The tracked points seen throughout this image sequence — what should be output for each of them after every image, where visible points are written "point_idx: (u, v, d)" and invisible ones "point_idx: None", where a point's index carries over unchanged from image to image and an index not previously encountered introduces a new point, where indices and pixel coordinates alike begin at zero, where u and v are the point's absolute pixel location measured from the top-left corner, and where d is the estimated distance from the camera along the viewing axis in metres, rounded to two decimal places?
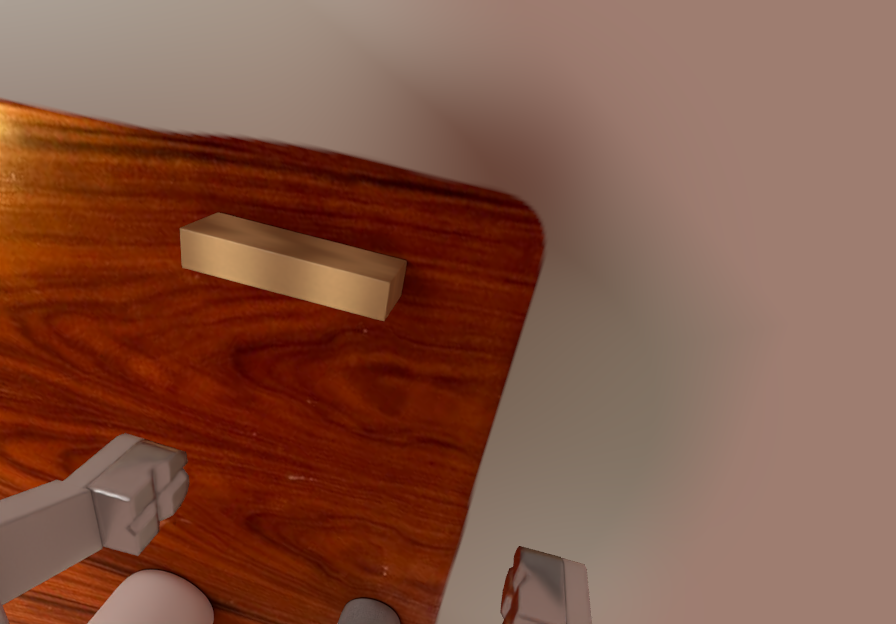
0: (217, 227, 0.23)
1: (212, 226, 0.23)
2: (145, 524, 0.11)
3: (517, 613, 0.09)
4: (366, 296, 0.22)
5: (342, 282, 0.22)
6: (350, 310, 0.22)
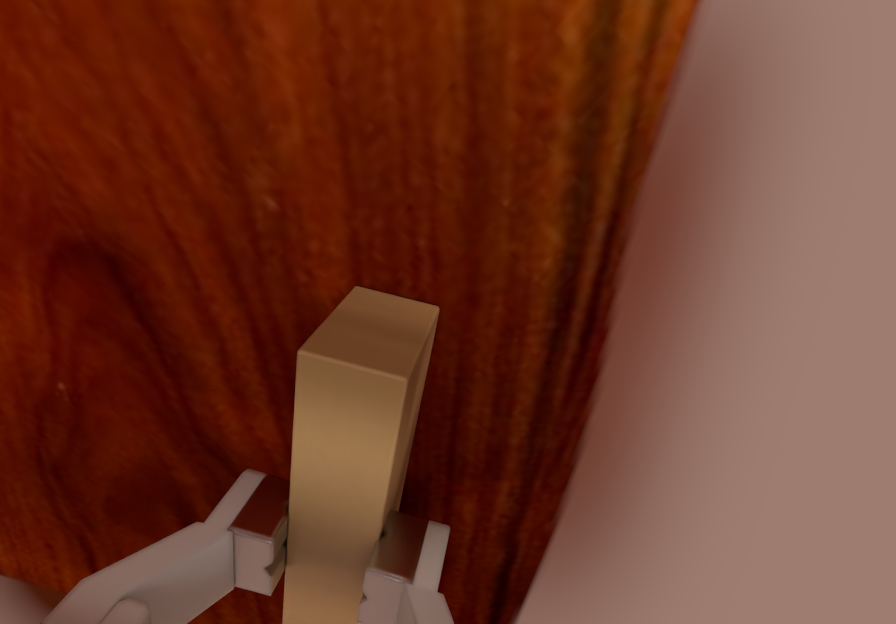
0: (412, 397, 0.10)
1: (414, 389, 0.10)
2: (278, 564, 0.10)
3: (366, 568, 0.09)
4: None
5: None
6: None
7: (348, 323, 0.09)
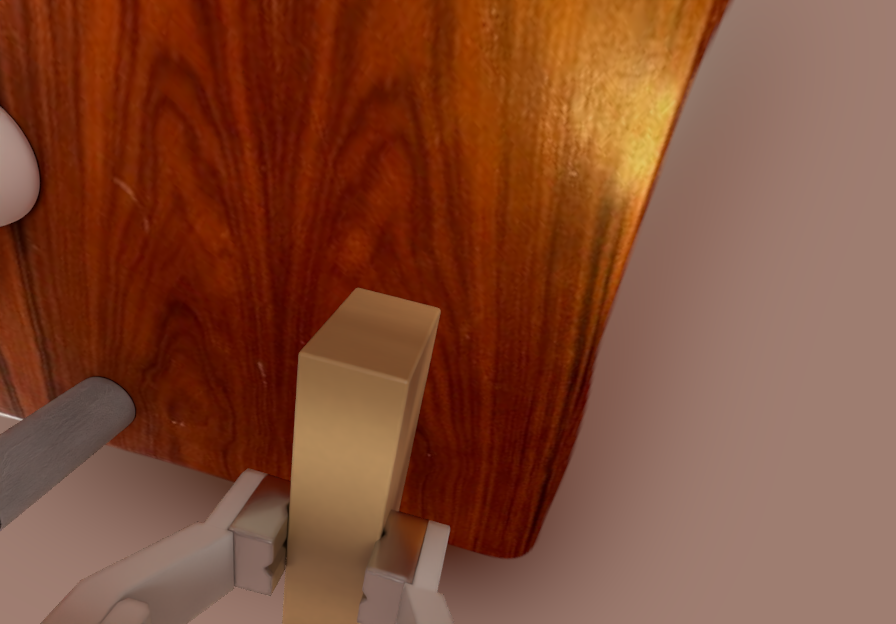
0: (413, 399, 0.10)
1: (414, 391, 0.10)
2: (278, 564, 0.10)
3: (366, 568, 0.09)
4: None
5: None
6: None
7: (349, 325, 0.09)
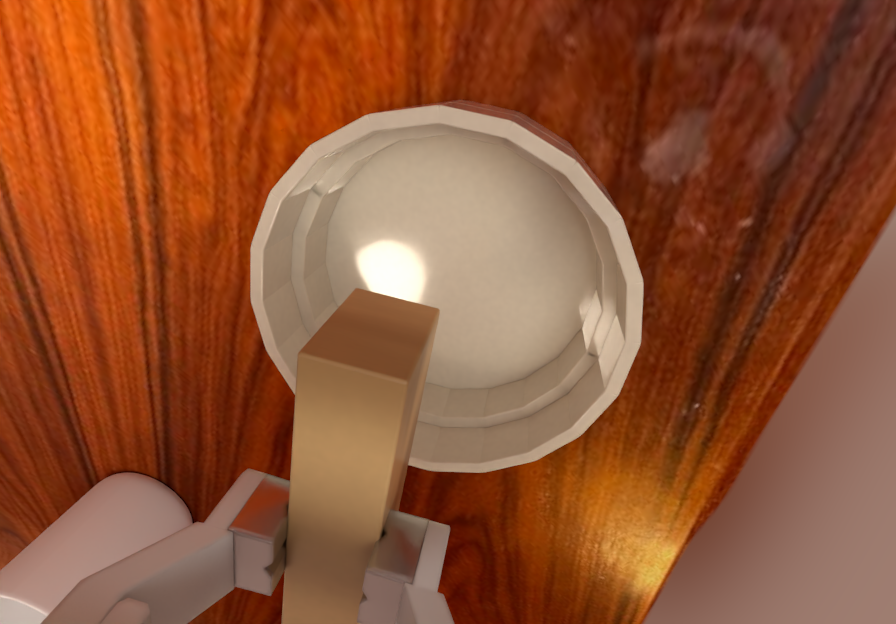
0: (412, 400, 0.10)
1: (414, 391, 0.10)
2: (278, 564, 0.10)
3: (366, 568, 0.09)
4: None
5: None
6: None
7: (349, 325, 0.09)
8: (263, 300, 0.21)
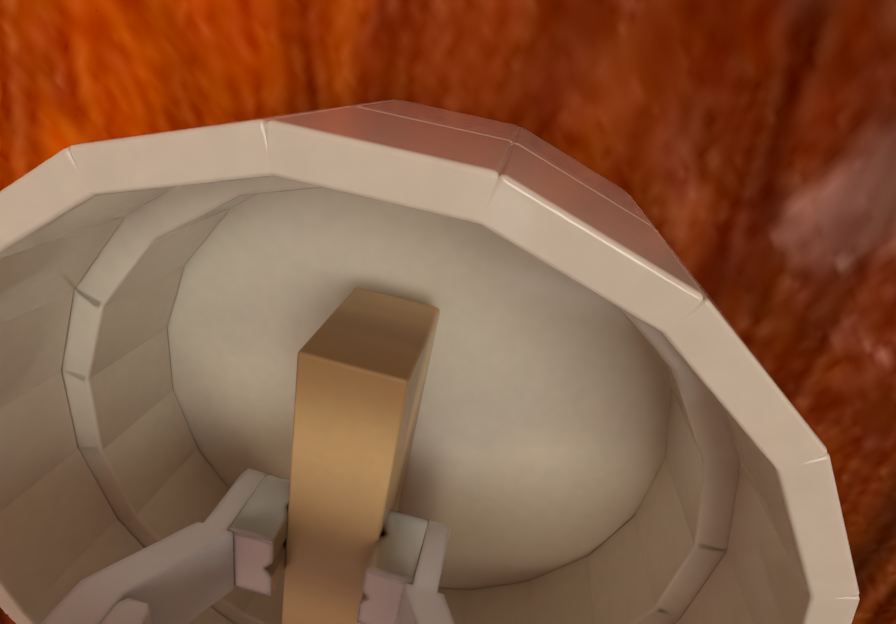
0: (412, 399, 0.10)
1: (414, 390, 0.10)
2: (278, 564, 0.10)
3: (366, 568, 0.09)
4: None
5: None
6: None
7: (348, 324, 0.09)
8: None
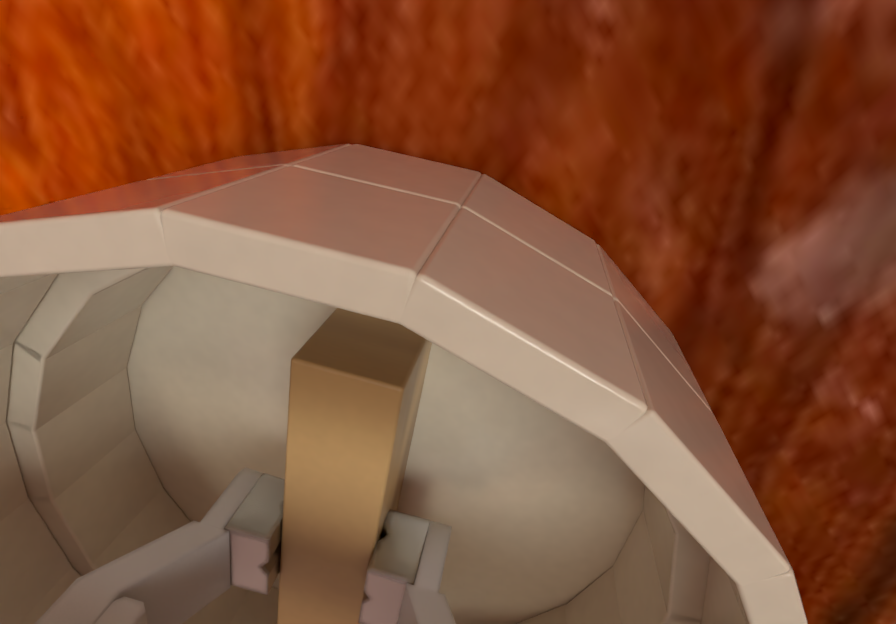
0: (409, 406, 0.09)
1: (410, 397, 0.09)
2: (275, 563, 0.10)
3: None
4: None
5: None
6: None
7: (344, 330, 0.09)
8: None
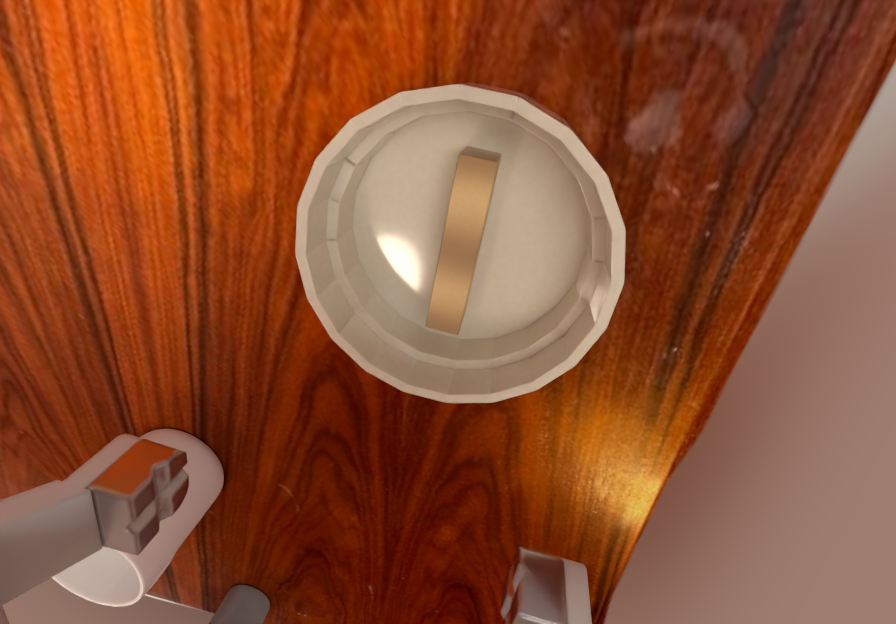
0: (494, 181, 0.25)
1: (495, 177, 0.25)
2: (145, 524, 0.11)
3: (517, 613, 0.09)
4: (445, 317, 0.28)
5: (455, 300, 0.27)
6: (431, 303, 0.28)
7: (471, 151, 0.25)
8: (306, 254, 0.25)
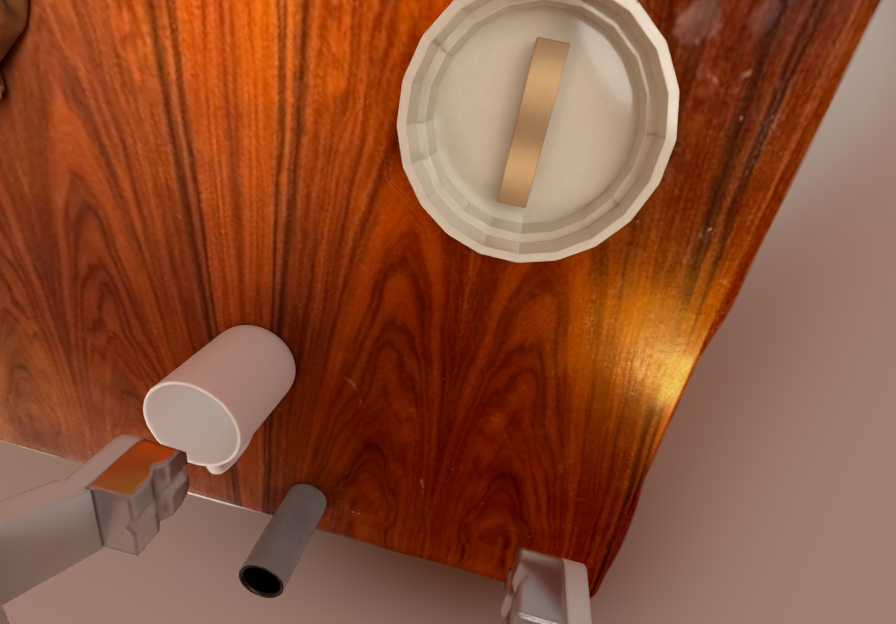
0: None
1: None
2: (145, 524, 0.11)
3: (517, 613, 0.09)
4: (515, 191, 0.33)
5: (525, 174, 0.32)
6: (504, 178, 0.32)
7: None
8: (405, 125, 0.30)
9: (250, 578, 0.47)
